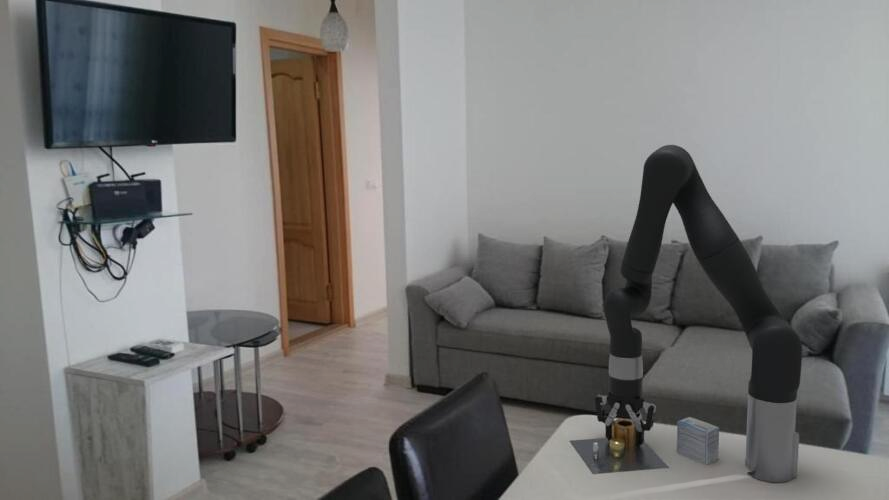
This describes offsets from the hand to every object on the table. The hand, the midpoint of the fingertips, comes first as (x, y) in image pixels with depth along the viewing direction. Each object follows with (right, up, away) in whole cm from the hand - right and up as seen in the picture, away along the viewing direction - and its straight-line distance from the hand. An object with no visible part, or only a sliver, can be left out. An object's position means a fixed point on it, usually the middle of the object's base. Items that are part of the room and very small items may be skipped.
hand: (624, 442), depth 162 cm
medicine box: (+14, -3, -7) cm, 16 cm away
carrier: (-3, -2, -5) cm, 6 cm away
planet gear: (0, 0, 0) cm, 0 cm away
